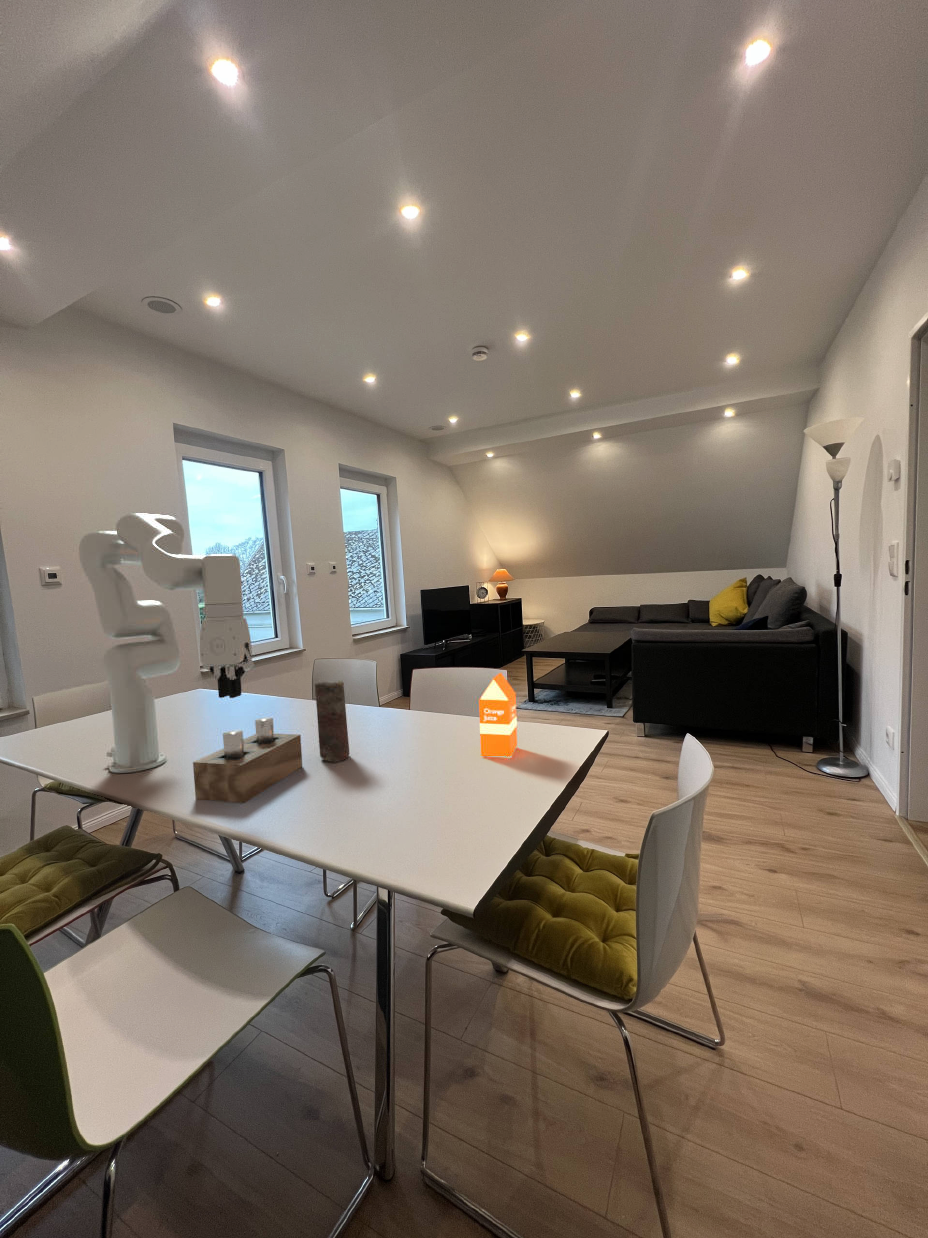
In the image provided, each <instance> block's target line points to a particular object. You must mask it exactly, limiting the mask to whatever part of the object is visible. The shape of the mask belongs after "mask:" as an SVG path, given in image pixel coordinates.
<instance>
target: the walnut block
mask: <svg viewBox="0 0 928 1238" xmlns="http://www.w3.org/2000/svg"><path fill="white" fill-rule="evenodd" d="M301 739H302V737H301V734H293V733H274V741H272V742H270V743H268V744H265V743H257V741H256V733H255V734H253V735H251V736H248V737H245V738H243V743H244V756H242V757H240V758H238V759H225V757H224V747H223V748H221V749H219V750H216V751H214V752H212V753H210V754H208V755H205V756H203V757H200V758H198V759H197V760H194V761H193V762H192V768H193V780H194V795H195V796H194V797H195V800H204V801H205V800H206V801H217V802H227V803H228V802H230V803H241V804H244V803H246V802H248V801H250V799H252V798H254V797H256V796H257V795H259V794H261V793H262V792H264V791H266V790H267V789H269V788H270V787H271V786H273V785H274V784H276V783H278V782H280V781H282V780H283V779H284V778H286V777H288V776H289V775H291V774H292V773H294V772H296V771H297V770H299V769H301V768H303V757H302V755H303V754H302V740H301Z"/></svg>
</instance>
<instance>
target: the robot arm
mask: <svg viewBox="0 0 928 1238" xmlns="http://www.w3.org/2000/svg"><path fill="white" fill-rule="evenodd" d="M184 539H185V530H184V527H183V525H182V524H181V522H180V521H179V520H178V519H177V518H175V517H173V516H170V515H163V514H162V515H161V514H154V513H153V514H150V513H149V514H148V513H143V512H142V513H140V512H139V513H138V512H136V513H135V512H133V513H128V514H125V515H123V516H122V517H120V518H119V519H118V521H117V522H116V524H115V530H99V531H91V532H89V533H87V534H85V535H83V536H82V538H81V539H80V542H79V546H78V557H79V563H80V566H81V568H82V570H83V572H84V574H85V577H86V578H87V581H88V583H89V584H90V586H91V588H92V591H93V594H94V599H95V603H96V604H95V605H96V610H97V612H98V619H99V621H100V625H101V629H102V631H103V633H104V635H105V636H106V637H107V638H109V639H114V640H123V639H124V640H125V639H135V638H143V637H147V638H148V639H149V640H145V641H144V640H143V641H134V642H126V643H120V644H116V645H113V646H111V647H110V648H108V649H107V650H106V651H105V652H104V654H103V656H102V667H103V671H104V674H105V677H106V681H107V684H108V689H109V690H108V691H109V696H110V704H111V705H110V706H111V707H110V708H111V715H112V716H111V719H112V728H113V730H112V731H113V739H114V747H111V748H110V751H108V752H106V757H108V758H112V760H113V761H112V762H111V763H110V764H109V766H108V768H109V771H110V772H111V773H115V774H129V773H135V772H141V771H145V770H150V769H153V768H156V767H158V766H160V765H162V764H164V763H165V762H166V761H167V755H166V754H165V753H161V752H160V750H159V747H160V746H159V737H158V736H159V735H158V725H157V712H156V711H157V709H156V699H155V694H154V692H153V690H152V689H151V688H150V686H148V685H147V684H146V682H145V681H144V679H145V680H146V679H148V678H155V677H159V676H164V675H169V674H172V673H175V672H176V671H177V670H178V669H179V668H180V667H179V666H180V664H181V653H180V649H179V644H178V640H177V635H176V631H175V627H174V623H173V618H172V615H171V613H170V611H169V609H168V608H167V606H166V604H164V603H162V602H161V601H158V600H137V599H136V596H135V593H134V587H133V584H132V582H131V581H130V579H128V577H127V576H126V575H125V574H124V573H123V572H122V571H120V570H119V569H118V568H117V567H116V566H142V568H143V571H144V573H145V575H146V576H147V578H148V579H150V580H151V581H152V582H154V583H155V584H157V585H158V586H160V587H161V588H163V589H165V590H168V591H192V590H193V591H194V590H195V591H196V590H199V591H201V590H202V591H203V603H204V607H202V609H201V612H202V614H204V615H205V616H204V617H205V619H202V620H201V625H200V633H199V654H200V655H199V656H200V663H201V664H202V668H204V669H205V670H208V671H209V672H211V674H212V675H213V678H214V679H215V680H217V692H218V698H219V699H223V698H226V697H229V698H230V699H235V698H239V697H240V696H242V679H241V678H243V677H244V675H245V673H246V672H247V671H248V670H250V669H253V668H254V667H255V664H254V661H253V659H252V658H253V648H252V640H251V632H250V630H249V624H248V621H247V619H246V617H244V605H243V587H242V575H241V564H240V563H241V561H240V559H239V557H238V556H237V555H236V554H230V553H229V554H228V553H226V554H225V553H223V554H222V553H221V554H220V553H219V554H218V553H217V554H215V553H214V554H208V555H190V554H182V551H183V542H184ZM228 667H229V676H228Z"/></svg>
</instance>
